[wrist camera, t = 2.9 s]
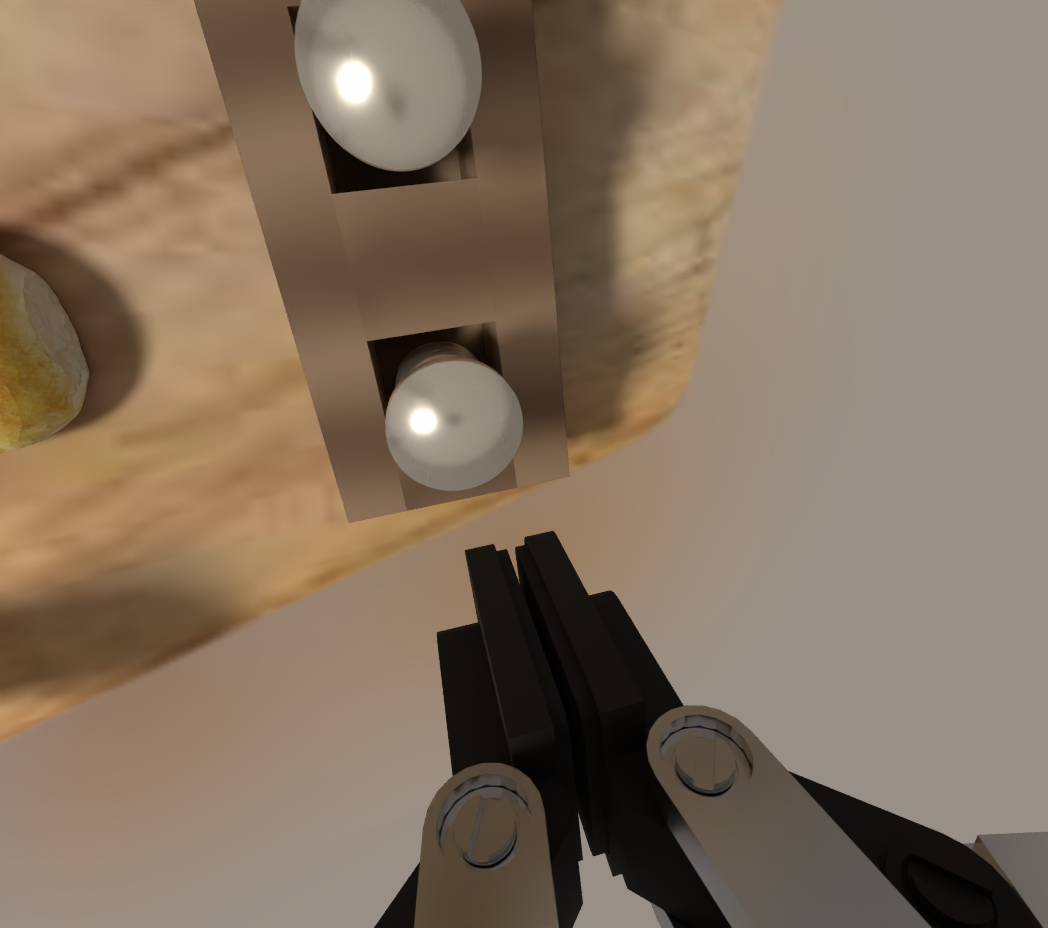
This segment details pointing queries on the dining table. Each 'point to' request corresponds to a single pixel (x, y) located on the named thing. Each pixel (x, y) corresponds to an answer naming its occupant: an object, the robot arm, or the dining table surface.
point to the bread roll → (36, 360)
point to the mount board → (401, 246)
